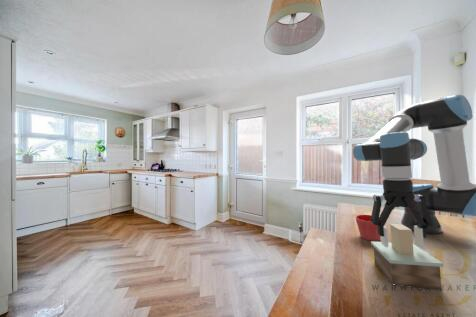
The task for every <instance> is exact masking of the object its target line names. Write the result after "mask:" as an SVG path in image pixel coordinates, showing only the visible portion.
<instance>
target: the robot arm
mask: <svg viewBox="0 0 476 317" xmlns="http://www.w3.org/2000/svg"><path fill="white" fill-rule="evenodd" d="M473 118H474V116H473V108H472V106H471V104H470V102H469V100H468V99H467V98H466V96H465V95H463V94H453V95H449V96H444V97H439V98H435V99H432V100H427V101H424V102H419V103H414V104H412V105H411V104H410V105H409V106H407V107H406V108H405V107H404V108H403V109H402V110H399V111H398V112H397V113H395V115H393V116H391V118H390V119H389V120H388V123H387V124H386V125H385V126H384V127H382V128H381V129H380V130H378V132H376V133H375V134H374V136H372V137H371V138H369V140H367V141H366V142H365V143H360V144H355V145H354V147H353V150H352V155H353V158H354V159H355V160H356V161H359V162H372V161H373V162H374V161H381V172H382V173H381V174H382V175H381V176H382V178H383V179H382V188H383V189H382V190H383V193H382V194H380V195H377V194H373V195H372V197H373V198H372V199H373V206H372V212H371V214H370V215H371V220H370V221H371V222H372V223H373V224H374V225H377V228H378V234H379V235H380V236H381V237H380V240H381V241H380V242H382V244H383V245H384V246H385V247H388V242H389V238H388V228H387V226H385V225H386V223H387V221H388V219H389V218H390V216H391V213H392V211H393V210H395V208H400V207H401V208H403V209H404V211H403V212H404V213H403V215H402V218H401V220H400V224H402V225H404V226H406V227H407V228H409V229H411V230H412V232H414V245H416V246H417V247H419V248H420V249H422V250H425V245H424V243H425V242H424V239H425V238H426V237H427V234H431V235H433V234H434V235H435V234H441V233H442V225H441V223H440V221H439V219H438V217H437V216H436V212H441V213H446V214H454V215H459V216H466V217H468V216H469V217H476V184H474V183H472V182H471V181H470V175H469V169H468V168H469V167H468V161H467V155H466V146H465V145H466V144H465V140H464V133H463V129H464V128H465V127H466V126H468V122H469V121H471V120H472V119H473ZM425 127H427V130H428V131H429V132H431V133H432V134H433V139H434V145H435V152H436V158H437V159H436V160H437V166H438V171H439V172H438V173H439V178H440V182H439V183H438V184H436V187H435V186H434V185H433V184H432V183H416V184H415V183H413V180H412V178H413V171H412V160H413V161H414V160H415V161H416V160H418V159H420V158H422V157H424V156H425V155H426V154H427V151H428V147H427V144H426V142H424V141H423V140H421V139H418V138H410V136H409V133H408V132H409V131H410V130H411V129H417V128H425ZM383 200H385V201H386V202H385V203H384V207H383V208H382V202H384V201H383ZM381 210H382V211H381Z"/></svg>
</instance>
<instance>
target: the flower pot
mask: <svg viewBox="0 0 476 317" xmlns="http://www.w3.org/2000/svg"><path fill="white" fill-rule="evenodd" d="M371 215H372V214H357V215H356V216H355V220H356V225H357V227H358V232H359V234H360V237H361V238H362V239H363V238H364V240H366V241H370V240H371V241H372V242H379V241H380V240H381V236H380V235H379V234H378V228H377V225H374V224H373V223H372V222H371V221H370V220H371ZM371 241H370V242H371Z"/></svg>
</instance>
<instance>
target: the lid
mask: <svg viewBox="0 0 476 317" xmlns="http://www.w3.org/2000/svg"><path fill="white" fill-rule="evenodd" d="M389 228H390V241H388V247H385V246H384V245H383V244H382V242H381V241H370V244H371V246H372V247H373V246H374V247H375V248H376V249H377V250H378V251H379V252H380V253H381V254H382V255H383V256H384V257H385V258H386V259H387V260H388V261H389V262H390V263H394V264H408V265H423V266H437V267H440V268H443V267H444V263H443V262H442V261H440V260H438V259H437V258H436V257H434V256H432V255H431V254H429V253H428V252H426V250H424V249H420V248H419V247H417V246H416V245H415V243H414V242H413V240H414V239H413V231H412V230H411V229H409V228H407V227H406V226H404V225H402V224H401V223H399V224H397V223H390V224H389ZM374 247H373V248H374Z"/></svg>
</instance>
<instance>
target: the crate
mask: <svg viewBox="0 0 476 317" xmlns="http://www.w3.org/2000/svg"><path fill="white" fill-rule="evenodd" d="M372 247H373V258H374V264H375V266H376V267H377V268H378V270H380V272H381V273H382V274H383V275H384V276H385V278H386V279H387V278H388V279H389V280H388V279H387V280H388V281H389V282H390V283H391V284H395V285H403V286H402V287H406V286H412V287H411V288H416V287H418V289H428V290H441V291H442V282H441V281H442V280H441V279H442V278H441V267H437V266H423V265H408V264H394V263H390V262H389V261H388V260H387V259H386V258H385V257H384V256H383V255H382V254H381V253H380V252H379V251H378V250H377V249H376V248H375V247H374V246H373V245H372ZM395 285H394V286H395Z"/></svg>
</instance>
